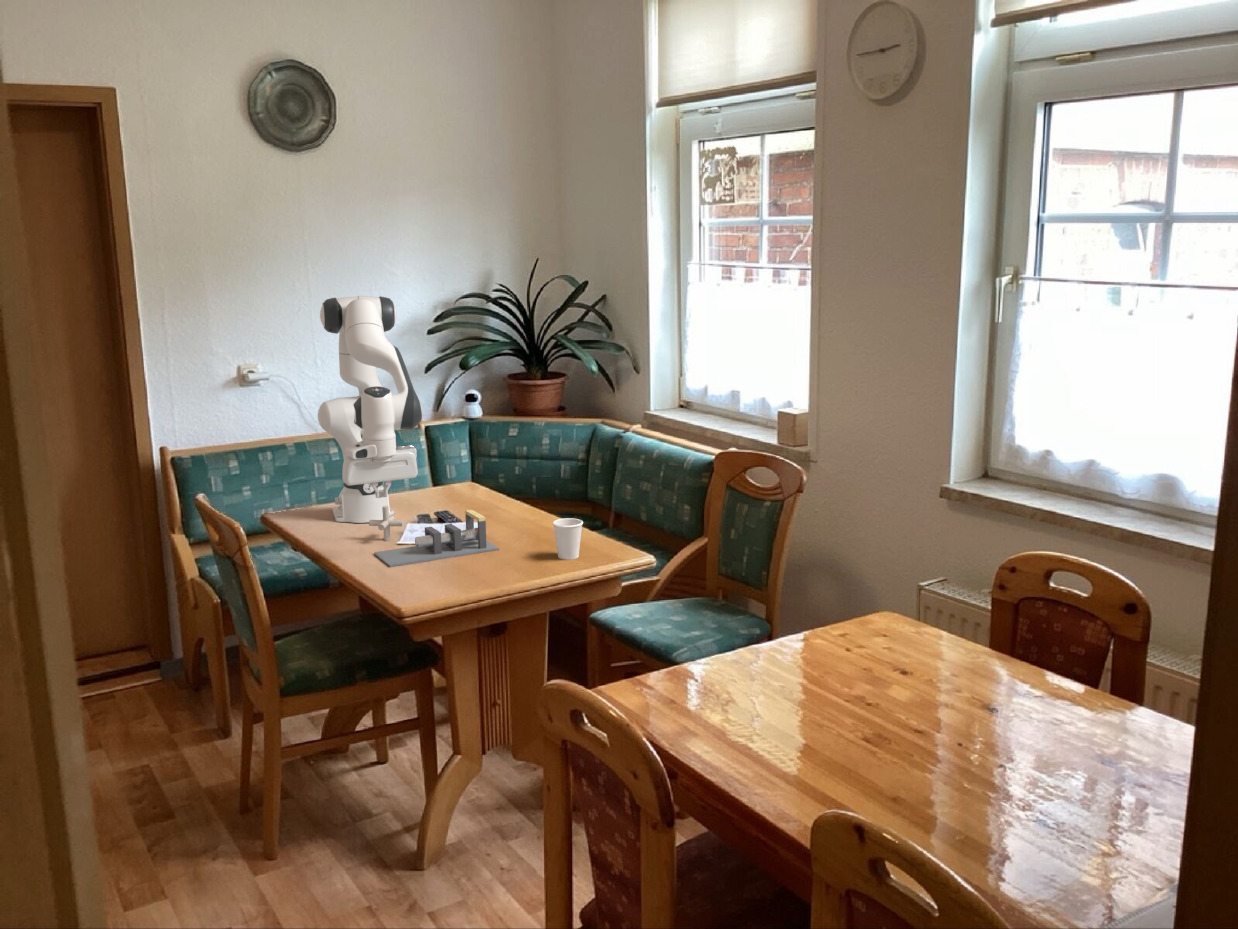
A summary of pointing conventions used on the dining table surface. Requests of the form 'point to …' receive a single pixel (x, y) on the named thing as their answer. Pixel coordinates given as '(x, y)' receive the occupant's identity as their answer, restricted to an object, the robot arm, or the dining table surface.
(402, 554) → the collar board
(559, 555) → the dixie cup
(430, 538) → the tube
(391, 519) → the pipe connector
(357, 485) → the robot arm
